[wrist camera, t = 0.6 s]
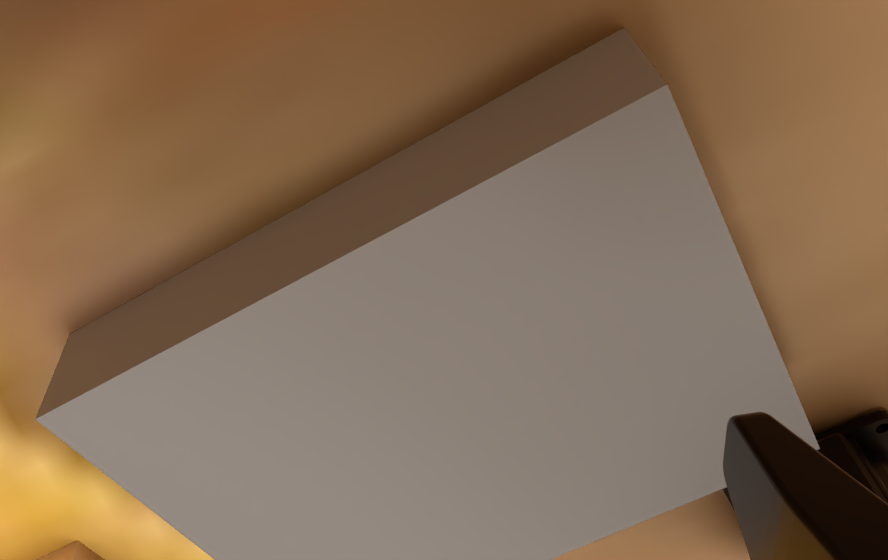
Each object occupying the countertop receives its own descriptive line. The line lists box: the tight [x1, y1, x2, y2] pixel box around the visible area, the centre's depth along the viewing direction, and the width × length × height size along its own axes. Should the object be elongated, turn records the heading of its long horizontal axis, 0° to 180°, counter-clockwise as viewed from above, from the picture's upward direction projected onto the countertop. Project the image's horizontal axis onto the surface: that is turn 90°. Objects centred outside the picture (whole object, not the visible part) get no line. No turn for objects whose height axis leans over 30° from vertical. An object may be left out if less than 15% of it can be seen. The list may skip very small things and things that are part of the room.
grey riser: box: [35, 28, 820, 560], centre depth 26 cm, size 14×18×4 cm
